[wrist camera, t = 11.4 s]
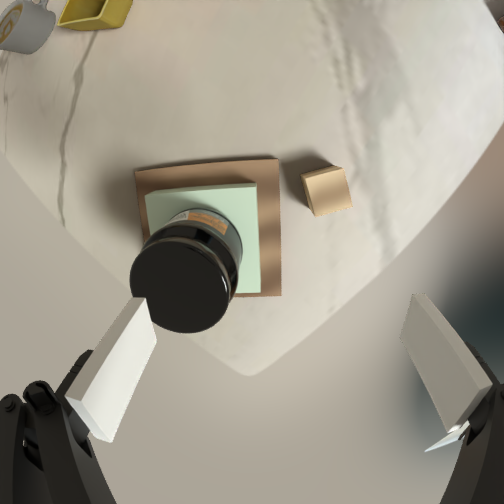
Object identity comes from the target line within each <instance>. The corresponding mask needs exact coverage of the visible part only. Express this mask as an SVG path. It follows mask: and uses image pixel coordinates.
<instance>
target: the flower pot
mask: <svg viewBox="0 0 504 504" xmlns="http://www.w3.org/2000/svg"><path fill="white" fill-rule="evenodd" d="M132 3H133V0H68V1H67V3H66V5H65V7H64V9H63V11H62V13H61V16H60V18H59V20H58V23H57V26H60V27H64V28H69V29H73V30H79V31H89V30H98V29H108V28H119V27H122V26H123V24H124V21H125V19H126V17H127V14H128V12H129V10H130V8H131V6H132Z"/></svg>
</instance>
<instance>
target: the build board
mask: <svg viewBox="0 0 504 504" xmlns="http://www.w3.org/2000/svg"><path fill="white" fill-rule="evenodd" d="M135 180H136V188H137V196H138V203H139V210H140V217H141V223H142V229H143V235H144V241H145V242H146V241H147V239H148V238H149V237H150V236H151V235H150V229H149V223H148V216H147V209H146V202H145V195H147V194H149V193H151V192H153V191H156V190H164V189H174V188H185V187H196V186H209V185H224V184H241V183H256V185H257V206H258V227H259V249H260V272H261V293H235V295H234V297H263V296H281V226H280V189H279V161H278V159H260V160H240V161H225V162H212V163H201V164H190V165H181V166H172V167H164V168H156V169H149V170H142V171H137V172H135Z"/></svg>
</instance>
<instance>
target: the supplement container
mask: <svg viewBox="0 0 504 504" xmlns="http://www.w3.org/2000/svg"><path fill="white" fill-rule="evenodd" d="M242 256H243V244H242V240H241V237H240V234H239V232H238V230H237V228H236V227H235V225H234V224H233V223H232V222H231V221H230V220H229V219H228V218H227V217H226V216H224V215H223V214H221V213H219V212H217V211H215V210H212V209H209V208H202V207H196V208H190V209H186V210H183V211H181V212H179V213H178V214H176V215H175V216H174V217H172V218H171V219H170V220H169V221H168V223H166V224H165V225H164V226H163V227H162V228H160V229H159V230H157V231H156V232H154V233H153V234H152V235H151V236H150V237H149V238H148V239H147V241H146V242H145V243H144V245H143V247H142V249H141V252H140V254H139V255H138V256H137V257H136V259H135V261H134V262H133V265H132V267H131V271H130V289H131V293H132V296H133V297H135V298H146V302H147V306H148V310H149V314H150V318H151V321H152V322H154V323H155V324H157V325H158V326H160V327H162V328H164V329H167V330H170V331H173V332H177V333H197V332H201V331H204V330H207V329H209V328H211V327H212V326H214V325H215V324H216V323H218V322H219V321H220V320H221V318H222V317H223V316H224V314H225V312H226V310H227V307H228V304H229V303H230V302H231V300H232V299H233V297H234V295H235V293H236V290H237V286H238V281H239V269H240V264H241V261H242Z"/></svg>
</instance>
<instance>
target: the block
mask: <svg viewBox="0 0 504 504" xmlns="http://www.w3.org/2000/svg"><path fill="white" fill-rule="evenodd" d="M300 177H301V180H302V184H303V187H304V191H305V194H306V198H307V202H308V205H309V209H310V210H311V211H312V213H313V214H314V216H315V217H318V216H322V215H325V214H329V213H332V212H336V211H339V210H343V209H347V208H350V207H353V206H352V201H351V197H350V192H349V188H348V184H347V180H346V176H345V172H344V168H341V167H337V166H330V167H326V168H322V169H318V170H315V171H311V172H307V173H304V174H300Z"/></svg>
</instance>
